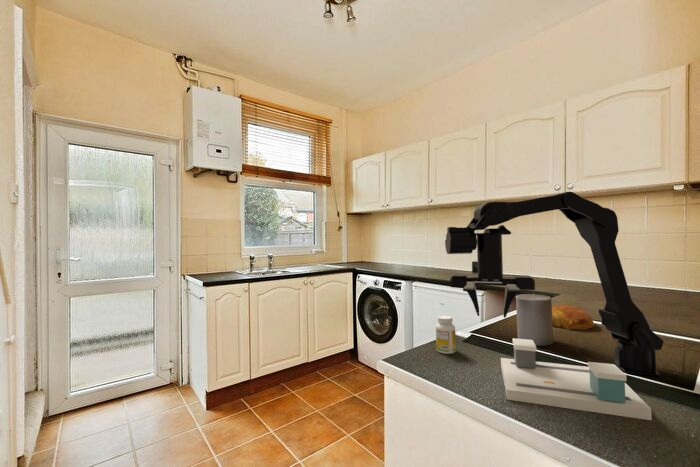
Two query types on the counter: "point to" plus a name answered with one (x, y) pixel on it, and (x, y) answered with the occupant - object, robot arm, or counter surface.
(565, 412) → the counter surface
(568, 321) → the croissant
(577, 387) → the slotted slider plate
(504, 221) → the robot arm
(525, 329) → the pillar candle
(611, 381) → the teal knob
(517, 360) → the grey and white slider
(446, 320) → the supplement bottle
